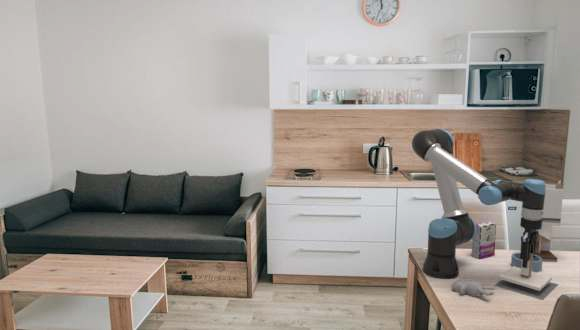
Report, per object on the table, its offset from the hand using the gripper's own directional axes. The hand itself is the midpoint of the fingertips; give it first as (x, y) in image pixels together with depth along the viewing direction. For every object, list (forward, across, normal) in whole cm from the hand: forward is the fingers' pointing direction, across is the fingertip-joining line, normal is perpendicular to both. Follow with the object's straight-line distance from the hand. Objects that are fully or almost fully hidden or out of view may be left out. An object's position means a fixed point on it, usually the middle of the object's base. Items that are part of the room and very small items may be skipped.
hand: (526, 273), depth 176 cm
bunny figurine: (+6, -22, +12) cm, 26 cm away
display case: (+6, +40, +6) cm, 41 cm away
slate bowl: (+6, +20, +6) cm, 22 cm away
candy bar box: (+6, +23, +27) cm, 36 cm away
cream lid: (+3, 0, 0) cm, 3 cm away
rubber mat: (+6, 0, -1) cm, 6 cm away
